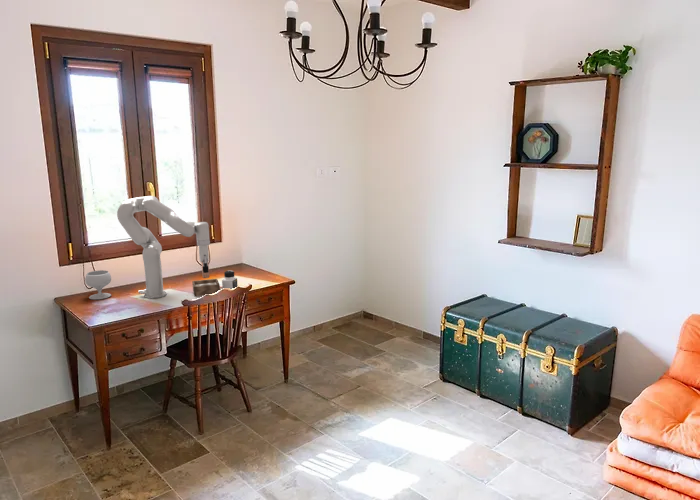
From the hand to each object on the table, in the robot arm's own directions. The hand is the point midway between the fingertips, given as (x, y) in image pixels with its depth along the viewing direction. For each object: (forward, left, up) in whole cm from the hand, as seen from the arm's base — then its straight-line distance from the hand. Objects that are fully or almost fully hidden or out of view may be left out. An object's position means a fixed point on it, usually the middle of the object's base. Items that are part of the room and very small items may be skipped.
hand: (205, 271), depth 309 cm
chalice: (-61, +13, -13) cm, 64 cm away
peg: (0, 0, -4) cm, 4 cm away
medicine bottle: (+14, 0, -13) cm, 20 cm away
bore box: (0, 0, -13) cm, 13 cm away
